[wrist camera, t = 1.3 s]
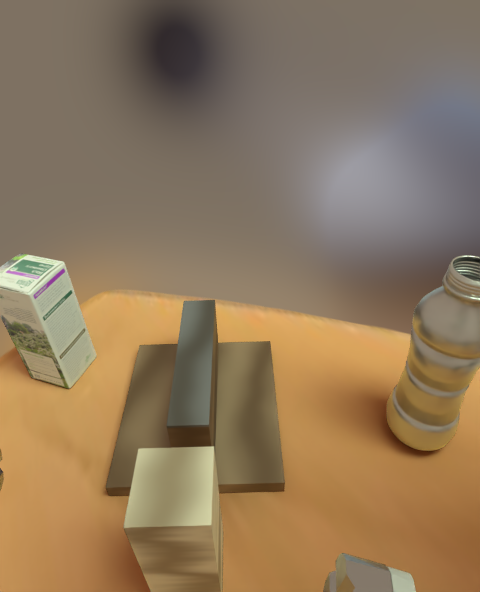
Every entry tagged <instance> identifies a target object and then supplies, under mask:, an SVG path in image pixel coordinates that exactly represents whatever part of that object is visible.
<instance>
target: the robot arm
mask: <svg viewBox="0 0 480 592" xmlns="http://www.w3.org/2000/svg"><path fill="white" fill-rule="evenodd" d="M1 460H2V453H1V449H0V461H1ZM3 480H4V478H3V471H2V470H1V468H0V490H1V488H2V484H3ZM323 592H416V589H415V584H414V580H413V578H412V576H411V574H410V573H408V572H405V571H402V570H398V569H395V568H391V567H387V566H386V565H384V564H380V563H377V562H373V561H370V560H366V559H363V558H359V557H356V556H352V555H349V554H345V553H342V554H340V555H339V556H338V558H337V560H336V571H333V572H331V573H329V575H328V577H327V579H326V582H325V585H324V590H323Z"/></svg>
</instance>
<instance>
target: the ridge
mask: <svg viewBox="0 0 480 592" xmlns="http://www.w3.org/2000/svg"><path fill="white" fill-rule="evenodd" d="M213 446H214V451H215V460H216V470H217V479H218V488H219V493H235V492H270V491H284V485H285V481H284V471H283V461H282V452H281V442H280V432H279V423H278V413H277V403H276V393H275V384H274V374H273V364H272V355H271V345H270V341H264V342H229V343H218V335H217V322H216V309H215V300H203V301H184V304H183V311H182V318H181V325H180V333H179V340H178V344H160V345H140V346H139V350H138V354H137V359H136V363H135V367H134V371H133V375H132V379H131V384H130V388H129V392H128V396H127V400H126V405H125V409H124V413H123V417H122V421H121V425H120V430H119V434H118V438H117V442H116V446H115V451H114V455H113V459H112V463H111V467H110V471H109V476H108V480H107V484H106V490H107V492H108V494H109V496H128V495H130V490H131V485H132V480H133V475H134V469H135V464H136V459H137V454H138V449H142V448H178V447H213Z"/></svg>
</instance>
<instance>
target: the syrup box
mask: <svg viewBox="0 0 480 592" xmlns="http://www.w3.org/2000/svg"><path fill="white" fill-rule="evenodd" d="M0 317H1V318H2V321H3V323H4V325H5V327H6V329H7V330H8V332H9V335H10V337H11V339H12V340H13V343H14V344H15V346H16V348H17V350H18V352H19V354H20V356H21V358H22V360H23V362H24V364H25V366H26V368H27V370H28V372H29V374H30V376H31V378H34V379H37V380H41V381H44V382H48V383H51V384H54V385H58V386H61V387H64V388H68V389H70V388H71V387H72V386H73V385H74V384H75V383H76V381H77V380H78V379H79V378H80V377H81V376H82V374H83V373H84V372H85V371H86V369H87V368H88V367H89V366H90V365H91V363H92V362H93V361H94V360H95V358H96V357H97V355H96V352H95V349H94V347H93V344H92V341H91V339H90V336H89V333H88V330H87V327H86V324H85V321H84V318H83V315H82V313H81V310H80V307H79V304H78V301H77V298H76V295H75V292H74V289H73V286H72V283H71V280H70V277H69V274H68V271H67V269H66V266H65V263H64V262H63V261H57V260H52V259H47V258H42V257H36V256H31V255H26V254H20V255H18V256H16V257H14V258H13V259H12V260H10V261H8V262H7V263H5V264H4V265H3V266H1V267H0Z"/></svg>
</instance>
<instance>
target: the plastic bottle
mask: <svg viewBox="0 0 480 592" xmlns="http://www.w3.org/2000/svg"><path fill="white" fill-rule="evenodd" d="M442 283H443V286H442V287H440V288H437V289H435V290H434V291H432V292H431V293H429V294H427V295H426V296H424V297H423V298H422V300H421V301H420V302H419V304H418V305H417V306H416V308H415V310H414V316H413V321H412V331H411V341H410V348H409V353H408V357H407V361H406V366H405V368H404V370H403V373H402V375H401V377H400V379H399V382H398V384H397V385H396V387H395V388H394V390H393V391H392V393H391V395H390V397H389V399H388V401H387V410H386V418H387V422H388V425H389V427H390V429H391V430H392V432H393V433H394V434H395V436H396V437H397V438H398V439H399V440H400V441H401V442H403V443H404V444H406V445H407V446H409V447H411V448H414V449H417V450H422V451H433V450H438V449H441V448H443V447H444V446H446V444H447V443H448V442H449V441H450V440H451V439H452V438H453V437H454V435H455V433H456V431H457V427H458V423H459V414H460V409H461V405H462V402H463V399H464V395H465V392H466V390H467V388H468V386H469V384H470V383H471V381H472V379H473V377H474V375H475V374H476V372H477V370H478V369H479V368H480V257H477V256H470V255H469V256H468V255H465V256H459V257H456V258H454V259H453V260H452V261H451V263H450V265H449V268H448V271H447V273H446V274H445V275H444V278H443V281H442Z"/></svg>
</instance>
